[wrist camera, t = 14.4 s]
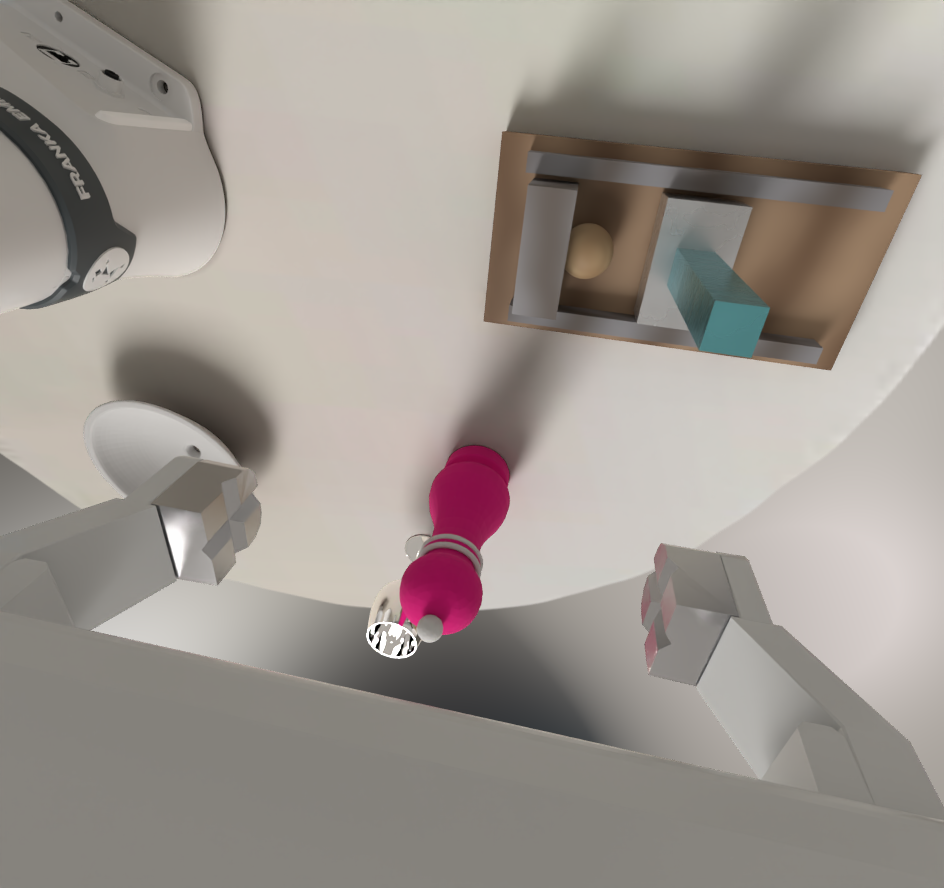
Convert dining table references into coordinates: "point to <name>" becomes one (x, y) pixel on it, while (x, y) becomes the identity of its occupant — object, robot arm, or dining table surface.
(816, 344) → the tray
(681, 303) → the track slider block
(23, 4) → the robot arm
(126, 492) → the dish
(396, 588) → the wineglass
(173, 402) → the dining table surface
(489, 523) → the pepper mill
